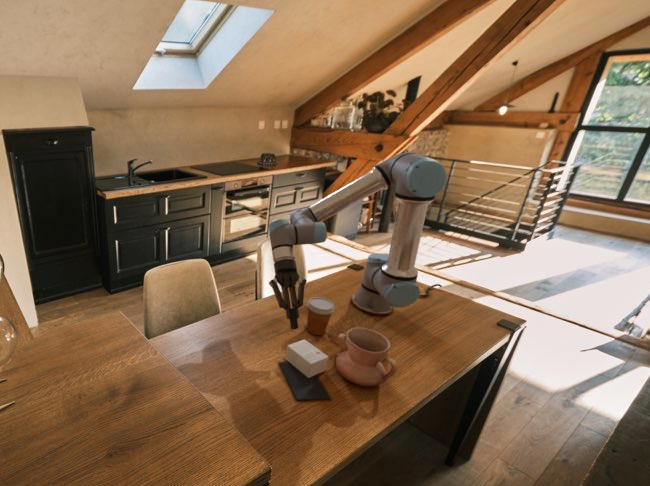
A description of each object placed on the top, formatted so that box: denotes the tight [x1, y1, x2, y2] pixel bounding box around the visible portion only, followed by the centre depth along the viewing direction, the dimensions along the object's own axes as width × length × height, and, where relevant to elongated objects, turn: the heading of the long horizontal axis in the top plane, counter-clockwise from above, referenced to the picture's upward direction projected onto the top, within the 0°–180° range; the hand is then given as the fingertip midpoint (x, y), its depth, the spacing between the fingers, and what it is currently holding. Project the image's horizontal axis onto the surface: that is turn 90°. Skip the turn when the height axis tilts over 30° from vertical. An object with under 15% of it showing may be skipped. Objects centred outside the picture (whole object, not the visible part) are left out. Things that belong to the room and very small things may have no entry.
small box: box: [285, 339, 330, 378], centre depth 124 cm, size 8×6×10 cm
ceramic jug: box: [335, 326, 398, 387], centre depth 119 cm, size 18×14×14 cm
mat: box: [278, 361, 331, 401], centre depth 119 cm, size 16×10×1 cm, turn 4°
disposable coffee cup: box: [306, 296, 335, 336], centre depth 141 cm, size 10×10×12 cm
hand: (294, 328), depth 126 cm, fingers closed
